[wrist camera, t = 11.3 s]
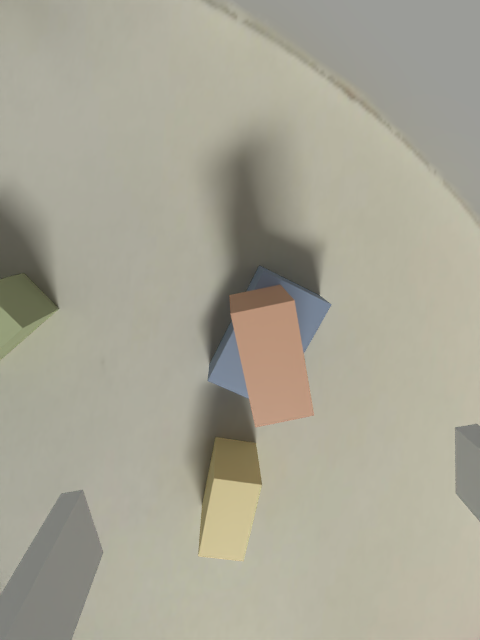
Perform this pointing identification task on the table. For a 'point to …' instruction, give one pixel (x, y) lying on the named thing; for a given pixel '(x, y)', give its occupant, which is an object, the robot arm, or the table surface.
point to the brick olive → (21, 310)
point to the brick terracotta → (271, 355)
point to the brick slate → (226, 358)
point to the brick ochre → (229, 500)
